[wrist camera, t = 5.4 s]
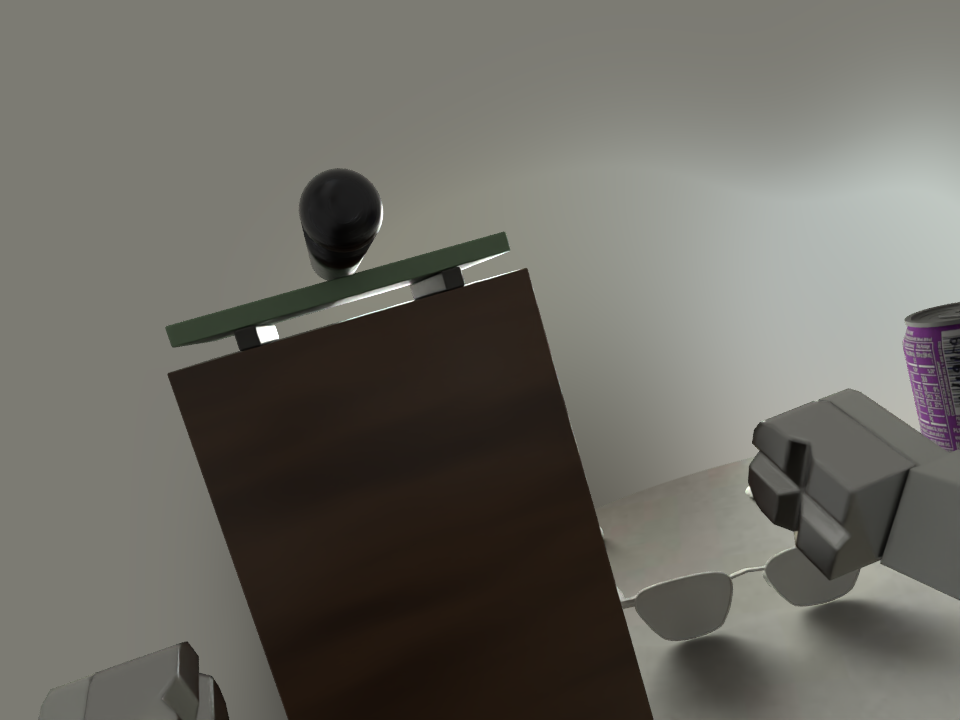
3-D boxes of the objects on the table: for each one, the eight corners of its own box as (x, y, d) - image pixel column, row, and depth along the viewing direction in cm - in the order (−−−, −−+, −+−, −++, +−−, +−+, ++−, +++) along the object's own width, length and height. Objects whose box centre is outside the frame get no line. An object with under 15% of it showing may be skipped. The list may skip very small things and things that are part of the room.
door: (620, 207, 17) (591, 96, 17) (65, 365, 14) (18, 236, 14) (463, 269, 36) (448, 218, 36) (214, 341, 34) (195, 286, 33)
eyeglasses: (635, 656, 40) (618, 595, 40) (587, 539, 58) (575, 496, 58) (889, 588, 40) (874, 525, 39) (762, 491, 58) (751, 447, 57)
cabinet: (678, 797, 30) (524, 247, 27) (364, 950, 27) (155, 353, 24) (589, 678, 40) (470, 267, 37) (354, 780, 37) (205, 344, 34)
